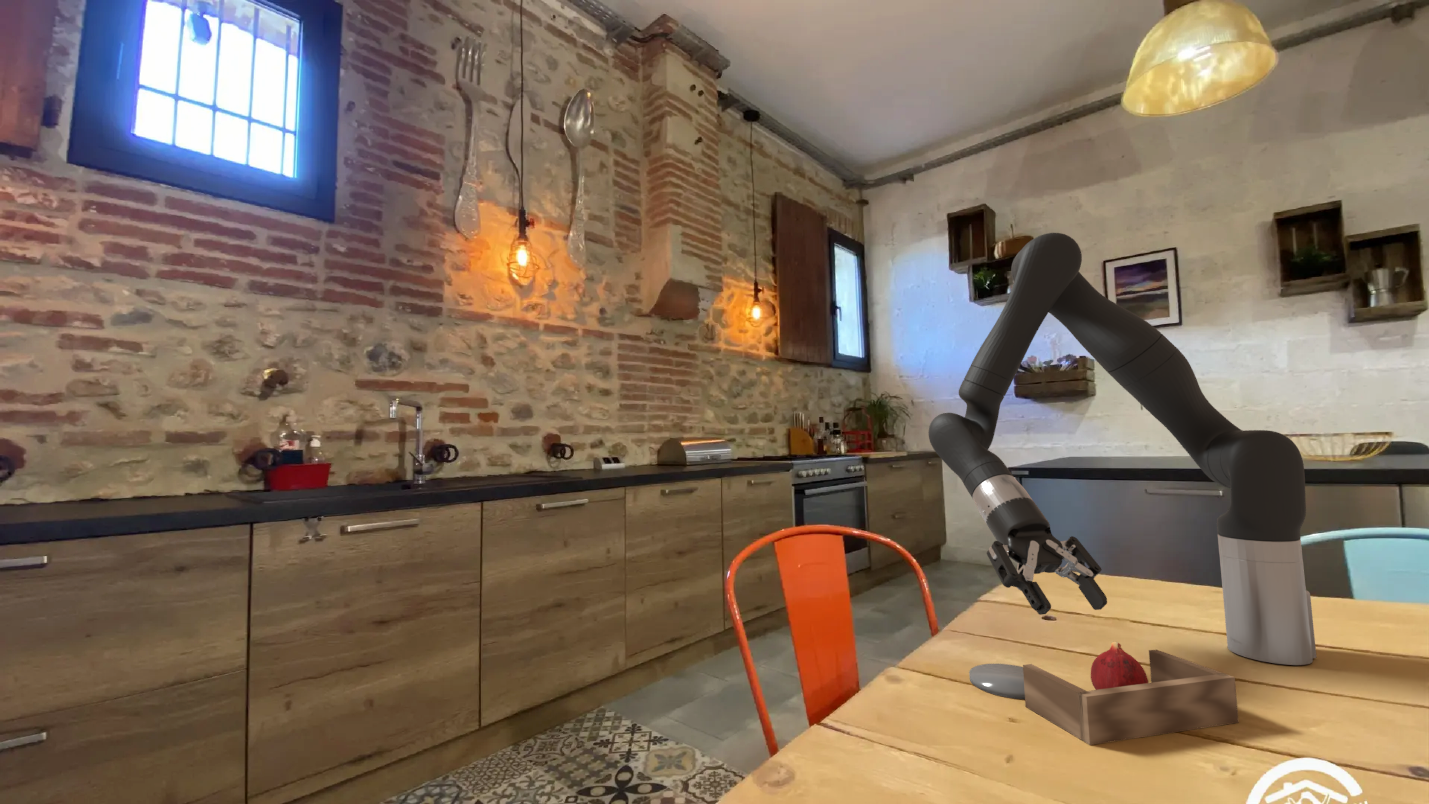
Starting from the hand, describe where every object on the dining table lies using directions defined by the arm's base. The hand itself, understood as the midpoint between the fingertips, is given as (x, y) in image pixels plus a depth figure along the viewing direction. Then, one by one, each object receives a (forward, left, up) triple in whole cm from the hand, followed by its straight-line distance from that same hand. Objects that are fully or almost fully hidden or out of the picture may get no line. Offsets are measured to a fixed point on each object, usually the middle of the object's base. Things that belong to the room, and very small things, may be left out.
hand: (1074, 609), depth 77 cm
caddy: (0, +7, -10) cm, 12 cm away
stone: (+7, -4, -10) cm, 13 cm away
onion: (0, +6, -11) cm, 12 cm away
